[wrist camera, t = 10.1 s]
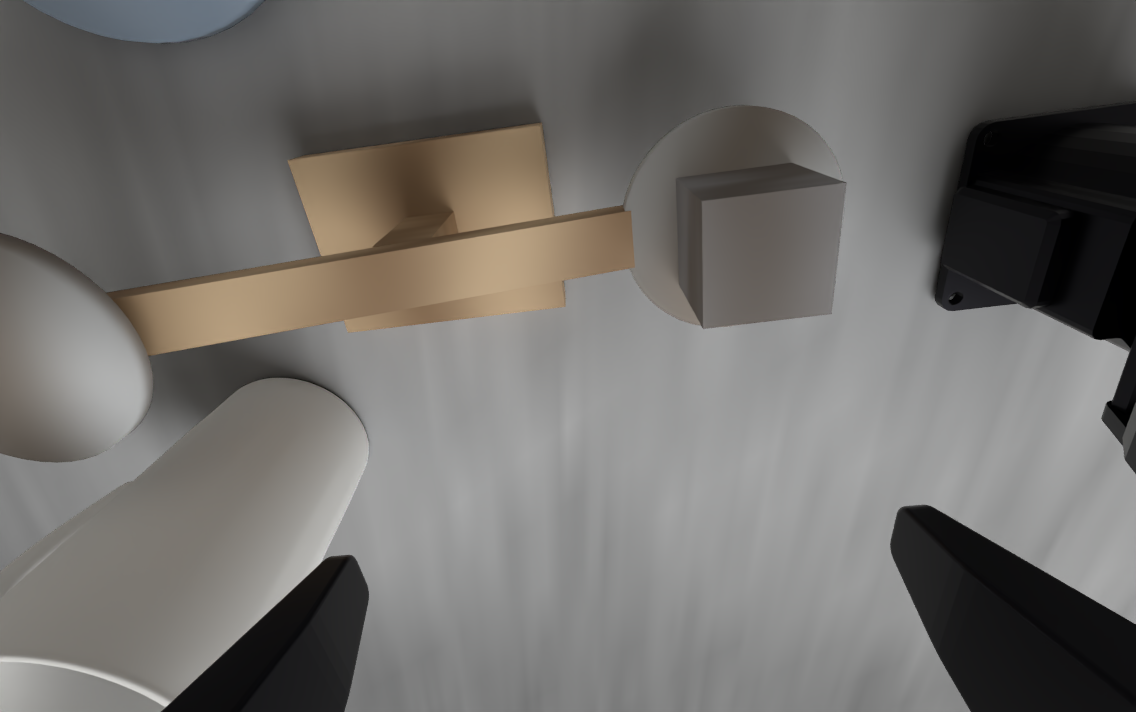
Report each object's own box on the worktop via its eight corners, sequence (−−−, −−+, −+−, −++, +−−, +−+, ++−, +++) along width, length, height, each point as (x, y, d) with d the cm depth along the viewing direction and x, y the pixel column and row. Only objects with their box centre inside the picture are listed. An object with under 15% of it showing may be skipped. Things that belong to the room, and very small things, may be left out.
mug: (355, 364, 21) (146, 648, 11) (392, 492, 24) (260, 810, 14) (112, 380, 22) (-326, 672, 11) (180, 504, 25) (-110, 825, 14)
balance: (791, 87, 17) (948, 93, 10) (780, 268, 20) (897, 371, 13) (77, 186, 18) (-222, 252, 11) (162, 343, 21) (-37, 473, 14)
